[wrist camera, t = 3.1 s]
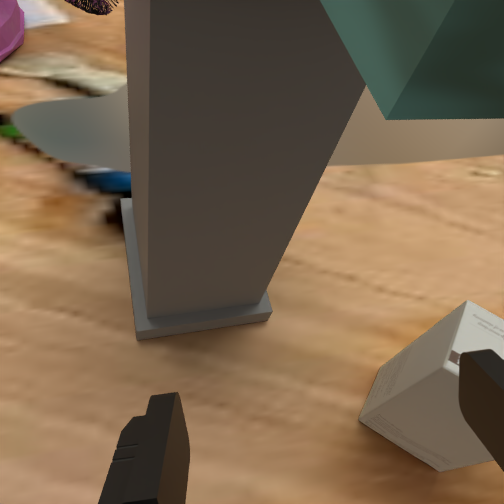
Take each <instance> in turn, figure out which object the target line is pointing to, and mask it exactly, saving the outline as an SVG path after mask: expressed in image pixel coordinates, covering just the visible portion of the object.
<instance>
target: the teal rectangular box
mask: <svg viewBox="0 0 504 504" xmlns="http://www.w3.org/2000/svg"><path fill="white" fill-rule="evenodd" d="M320 1H321V3H322V5H323V7H324V9H325V11H326V12H327V14H328V16H329V18H330V20H331V21H332V23H333V25H334V27H335V29H336V30H337V32H338V34H339V36H340V38H341V40H342V41H343V43H344V45H345V47H346V49H347V50H348V52H349V54H350V56H351V58H352V60H353V61H354V63H355V65H356V67H357V69H358V70H359V72H360V74H361V76H362V78H363V80H364V81H365V83H366V85H367V87H368V89H369V90H370V92H371V94H372V96H373V98H374V99H375V101H376V103H377V105H378V107H379V108H380V110H381V112H382V114H383V116H384V117H385V119H386V120H407V119H408V120H410V119H411V120H412V119H414V120H415V119H487V118H488V119H491V118H492V119H493V118H494V119H495V118H504V0H320Z"/></svg>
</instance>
